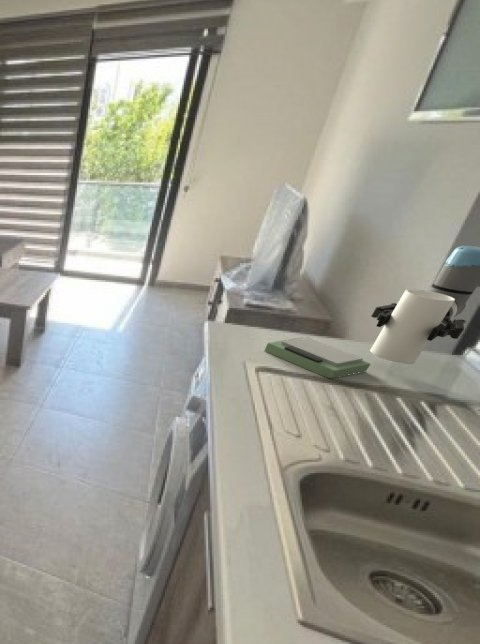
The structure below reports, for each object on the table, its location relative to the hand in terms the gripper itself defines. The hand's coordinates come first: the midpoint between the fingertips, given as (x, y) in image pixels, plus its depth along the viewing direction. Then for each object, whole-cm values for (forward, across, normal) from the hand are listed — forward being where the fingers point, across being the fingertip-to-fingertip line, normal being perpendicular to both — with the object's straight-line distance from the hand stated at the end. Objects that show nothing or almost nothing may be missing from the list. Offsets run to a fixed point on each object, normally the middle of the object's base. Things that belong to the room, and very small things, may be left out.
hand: (405, 328), depth 112 cm
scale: (+5, +12, -13) cm, 18 cm away
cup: (-5, 0, -9) cm, 10 cm away
